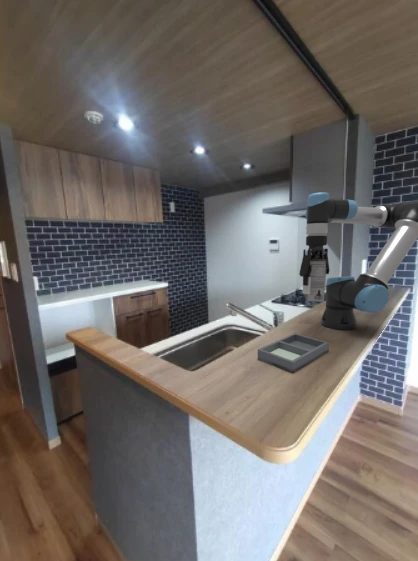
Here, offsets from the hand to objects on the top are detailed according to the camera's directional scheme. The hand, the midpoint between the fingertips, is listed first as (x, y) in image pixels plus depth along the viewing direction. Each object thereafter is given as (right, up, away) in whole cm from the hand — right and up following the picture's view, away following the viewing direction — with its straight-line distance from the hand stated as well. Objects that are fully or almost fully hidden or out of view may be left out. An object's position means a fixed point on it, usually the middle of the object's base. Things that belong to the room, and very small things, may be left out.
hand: (314, 291), depth 103 cm
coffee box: (0, -3, 0) cm, 3 cm away
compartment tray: (-11, -22, -9) cm, 27 cm away
